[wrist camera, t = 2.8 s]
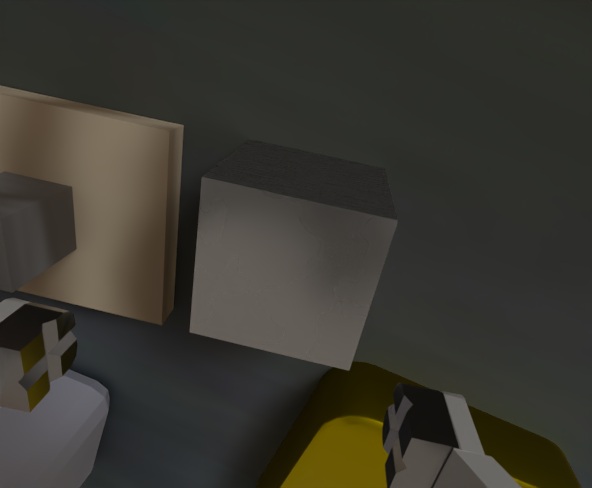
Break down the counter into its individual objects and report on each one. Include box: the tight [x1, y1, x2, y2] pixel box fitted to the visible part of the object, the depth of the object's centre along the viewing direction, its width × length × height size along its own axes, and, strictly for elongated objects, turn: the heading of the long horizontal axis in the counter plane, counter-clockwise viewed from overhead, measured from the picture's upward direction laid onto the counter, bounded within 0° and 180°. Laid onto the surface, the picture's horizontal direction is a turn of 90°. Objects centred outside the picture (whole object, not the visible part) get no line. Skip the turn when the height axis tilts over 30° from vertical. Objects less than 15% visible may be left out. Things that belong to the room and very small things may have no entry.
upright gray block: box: [190, 140, 398, 371], centre depth 16 cm, size 6×6×6 cm
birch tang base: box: [0, 86, 184, 325], centre depth 17 cm, size 12×10×6 cm
